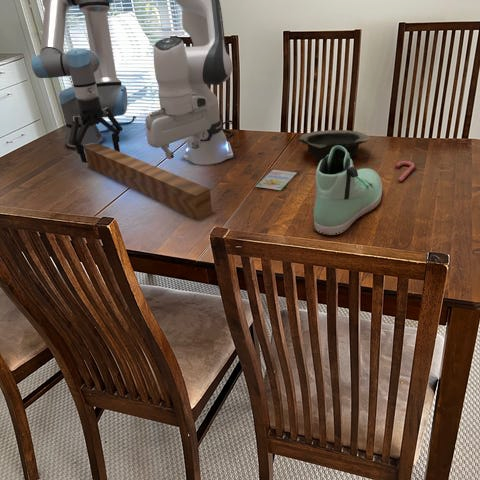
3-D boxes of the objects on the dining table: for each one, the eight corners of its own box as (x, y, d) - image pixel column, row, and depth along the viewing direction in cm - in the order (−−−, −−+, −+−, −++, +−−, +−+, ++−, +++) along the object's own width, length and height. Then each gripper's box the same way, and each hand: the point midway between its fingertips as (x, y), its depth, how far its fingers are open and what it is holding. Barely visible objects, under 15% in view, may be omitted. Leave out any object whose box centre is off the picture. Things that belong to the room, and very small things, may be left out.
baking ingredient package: (255, 185, 155) (273, 168, 166) (255, 187, 155) (273, 170, 166) (280, 189, 151) (297, 171, 163) (280, 190, 151) (297, 173, 163)
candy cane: (383, 179, 154) (383, 175, 153) (399, 163, 164) (400, 158, 163) (401, 183, 151) (402, 178, 150) (417, 166, 161) (417, 161, 160)
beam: (88, 167, 181) (83, 147, 176) (102, 162, 184) (97, 142, 180) (198, 220, 139) (194, 195, 135) (212, 213, 142) (209, 188, 138)
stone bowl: (326, 174, 159) (325, 147, 154) (286, 157, 179) (284, 133, 175) (384, 156, 168) (385, 130, 163) (340, 142, 188) (339, 118, 184)
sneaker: (389, 187, 148) (396, 123, 138) (356, 242, 123) (361, 168, 112) (346, 181, 154) (350, 119, 144) (306, 232, 129) (307, 161, 118)
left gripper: (58, 107, 155) (74, 169, 165) (124, 91, 169) (135, 148, 179) (48, 104, 159) (64, 164, 170) (113, 88, 174) (125, 145, 184)
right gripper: (151, 116, 120) (160, 167, 128) (212, 97, 132) (217, 144, 139) (137, 112, 124) (146, 161, 132) (198, 93, 136) (203, 140, 143)
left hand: (101, 156), depth 175 cm, fingers open, 13 cm apart
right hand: (183, 153), depth 136 cm, fingers open, 8 cm apart
